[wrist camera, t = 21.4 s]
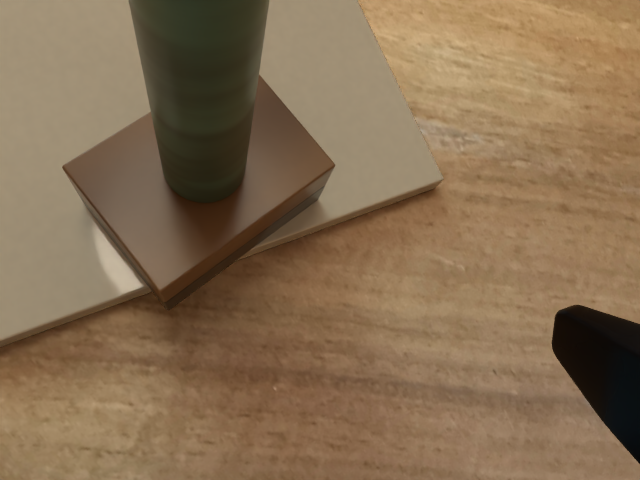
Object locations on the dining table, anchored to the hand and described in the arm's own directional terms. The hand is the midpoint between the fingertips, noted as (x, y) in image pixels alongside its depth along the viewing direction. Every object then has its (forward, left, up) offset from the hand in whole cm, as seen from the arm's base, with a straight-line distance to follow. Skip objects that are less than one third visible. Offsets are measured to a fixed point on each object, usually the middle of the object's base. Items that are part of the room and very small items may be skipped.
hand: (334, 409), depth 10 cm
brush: (+7, -3, -11) cm, 14 cm away
